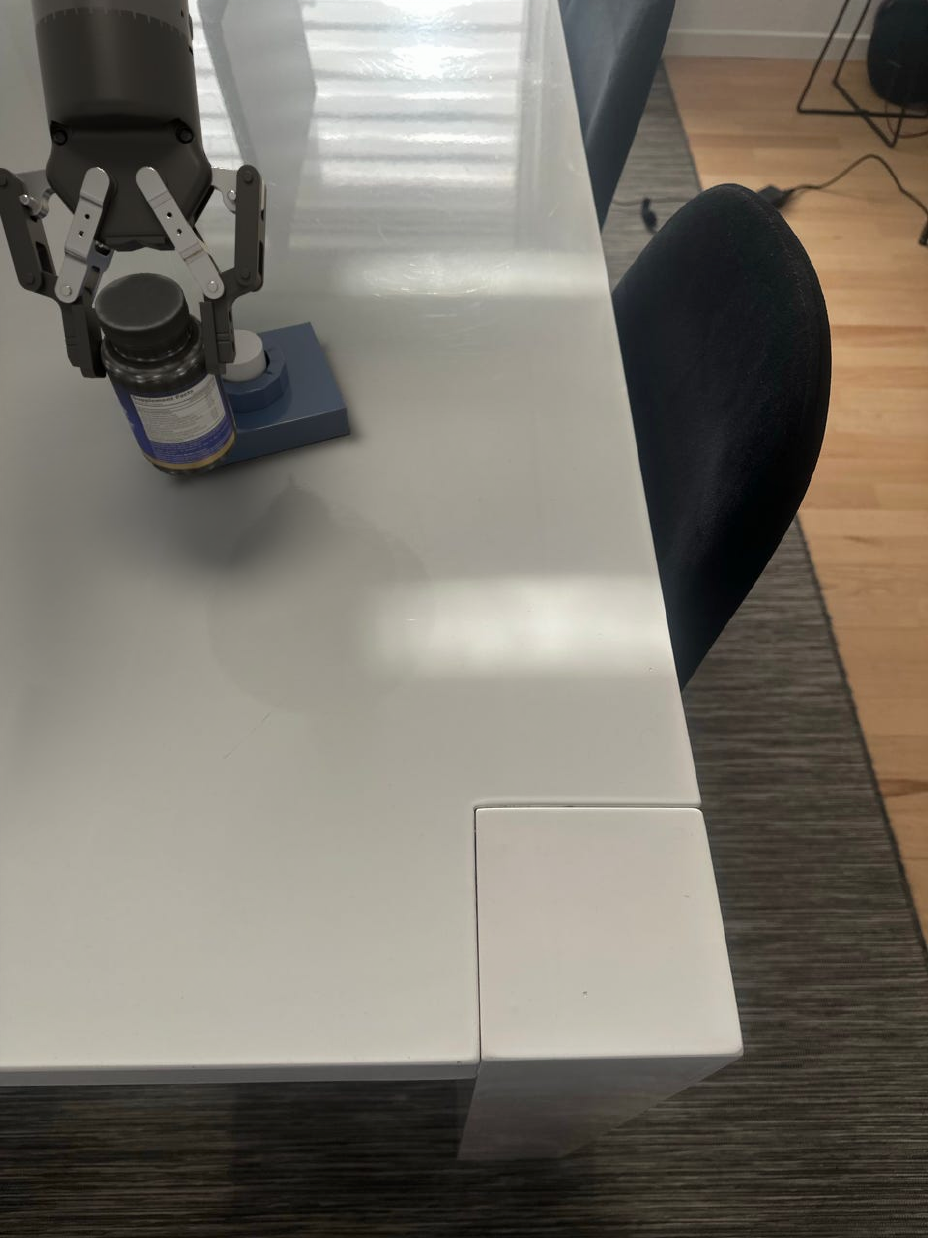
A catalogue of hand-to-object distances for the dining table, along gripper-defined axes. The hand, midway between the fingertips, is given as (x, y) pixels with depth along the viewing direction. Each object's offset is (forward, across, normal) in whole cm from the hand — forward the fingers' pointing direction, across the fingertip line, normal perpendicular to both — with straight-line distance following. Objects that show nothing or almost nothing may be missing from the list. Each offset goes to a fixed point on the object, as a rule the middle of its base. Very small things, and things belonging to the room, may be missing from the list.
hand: (156, 374), depth 47 cm
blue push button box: (+2, +1, +24) cm, 24 cm away
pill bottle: (+4, 0, +6) cm, 8 cm away
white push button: (-1, +1, +21) cm, 21 cm away
